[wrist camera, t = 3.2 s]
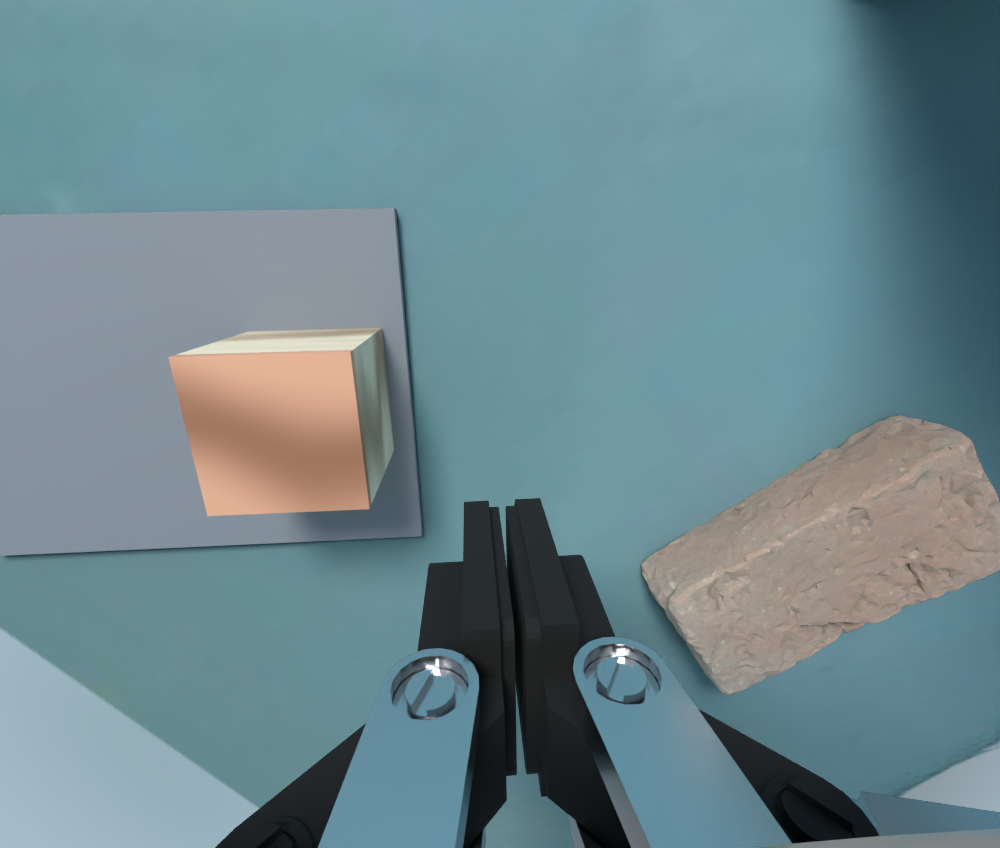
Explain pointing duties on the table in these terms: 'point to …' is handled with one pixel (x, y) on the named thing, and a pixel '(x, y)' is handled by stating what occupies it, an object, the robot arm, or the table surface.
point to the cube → (287, 420)
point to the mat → (147, 372)
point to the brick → (829, 550)
